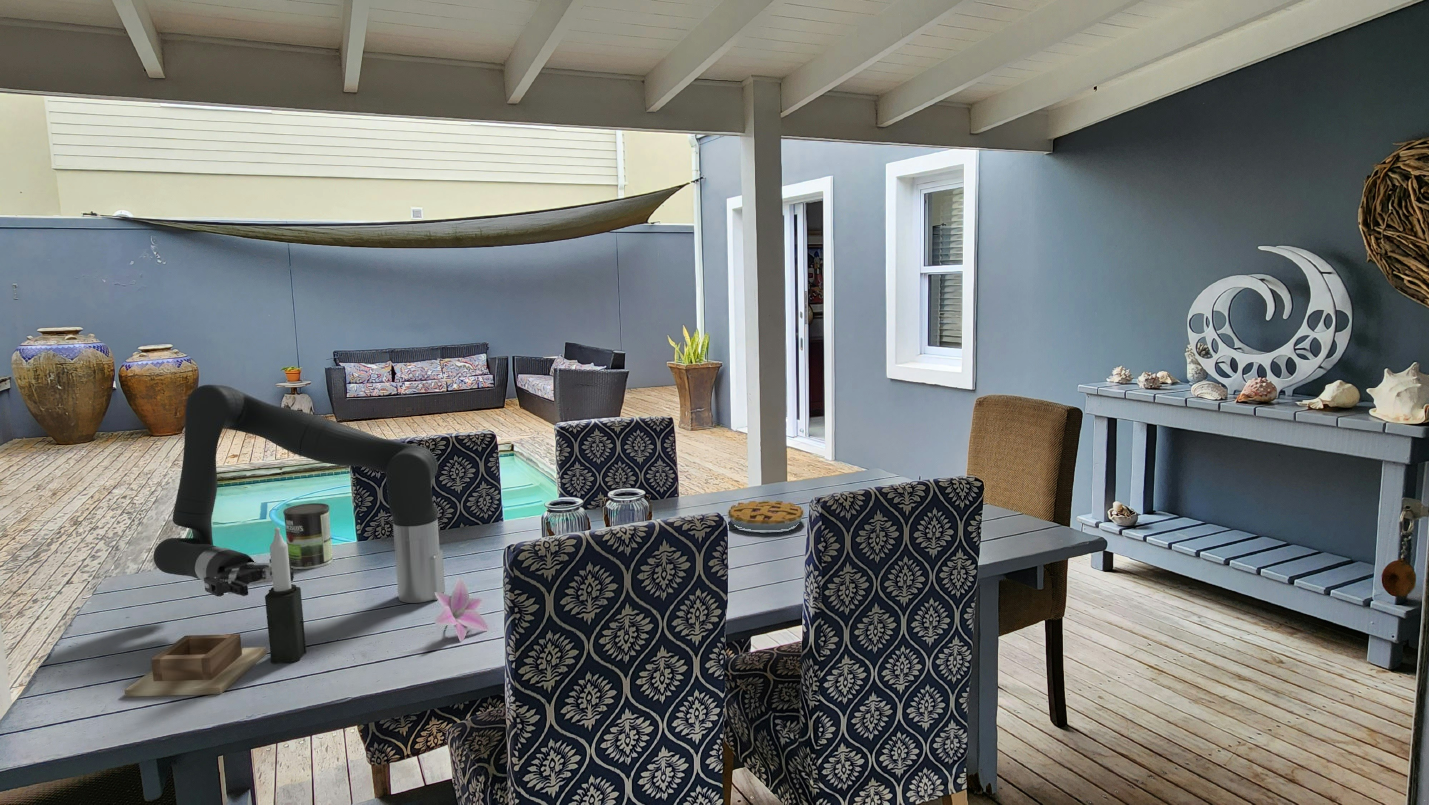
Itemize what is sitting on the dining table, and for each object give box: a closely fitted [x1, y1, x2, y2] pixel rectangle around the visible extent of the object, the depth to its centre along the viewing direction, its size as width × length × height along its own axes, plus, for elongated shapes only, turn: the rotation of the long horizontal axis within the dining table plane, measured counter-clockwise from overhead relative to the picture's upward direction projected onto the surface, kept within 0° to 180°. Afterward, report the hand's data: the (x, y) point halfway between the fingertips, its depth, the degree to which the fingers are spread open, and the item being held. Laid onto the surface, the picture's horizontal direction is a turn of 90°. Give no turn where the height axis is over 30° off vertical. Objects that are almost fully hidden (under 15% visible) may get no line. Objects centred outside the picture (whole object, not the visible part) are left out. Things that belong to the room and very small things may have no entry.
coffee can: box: [283, 502, 334, 570], centre depth 212 cm, size 10×10×14 cm
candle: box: [264, 527, 307, 665], centre depth 157 cm, size 5×5×25 cm
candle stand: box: [124, 633, 268, 698], centre depth 153 cm, size 16×16×5 cm
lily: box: [434, 577, 490, 643], centre depth 169 cm, size 12×12×10 cm
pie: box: [726, 500, 805, 530], centre depth 240 cm, size 22×22×5 cm
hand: (269, 583), depth 160 cm, fingers open, 8 cm apart
